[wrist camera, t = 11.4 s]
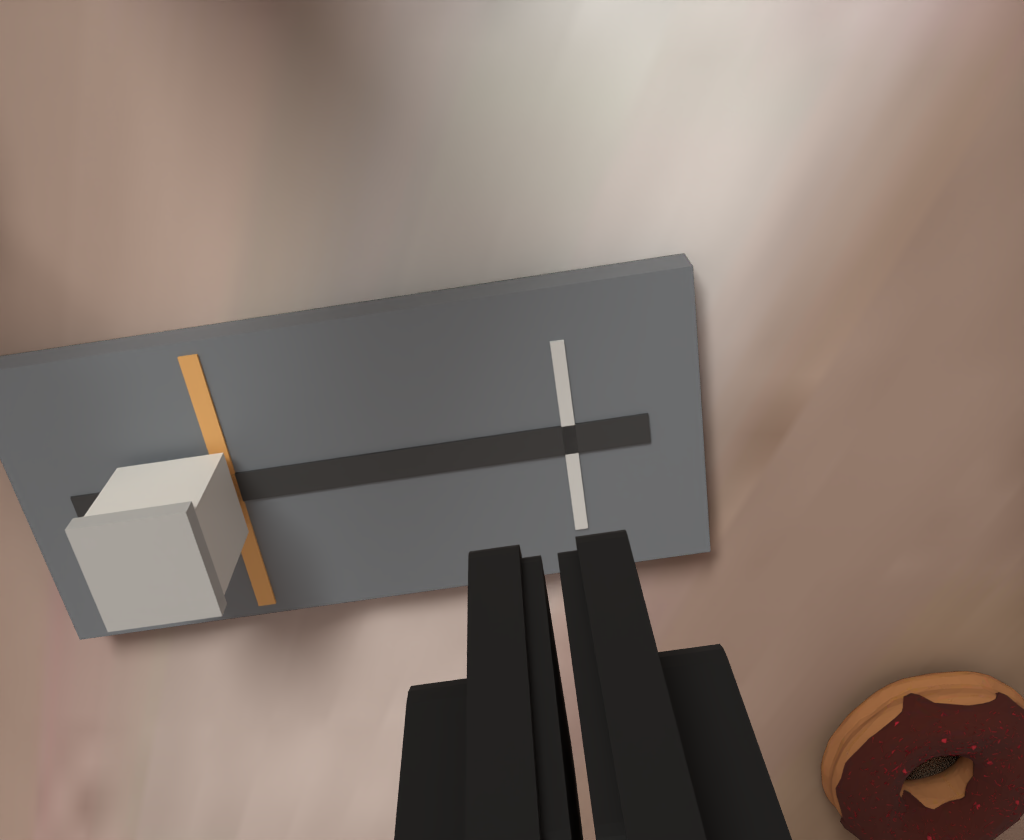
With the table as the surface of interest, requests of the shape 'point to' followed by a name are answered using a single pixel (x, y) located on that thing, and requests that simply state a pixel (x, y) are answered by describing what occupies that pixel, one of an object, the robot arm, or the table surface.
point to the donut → (919, 737)
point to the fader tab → (161, 542)
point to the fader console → (387, 432)
